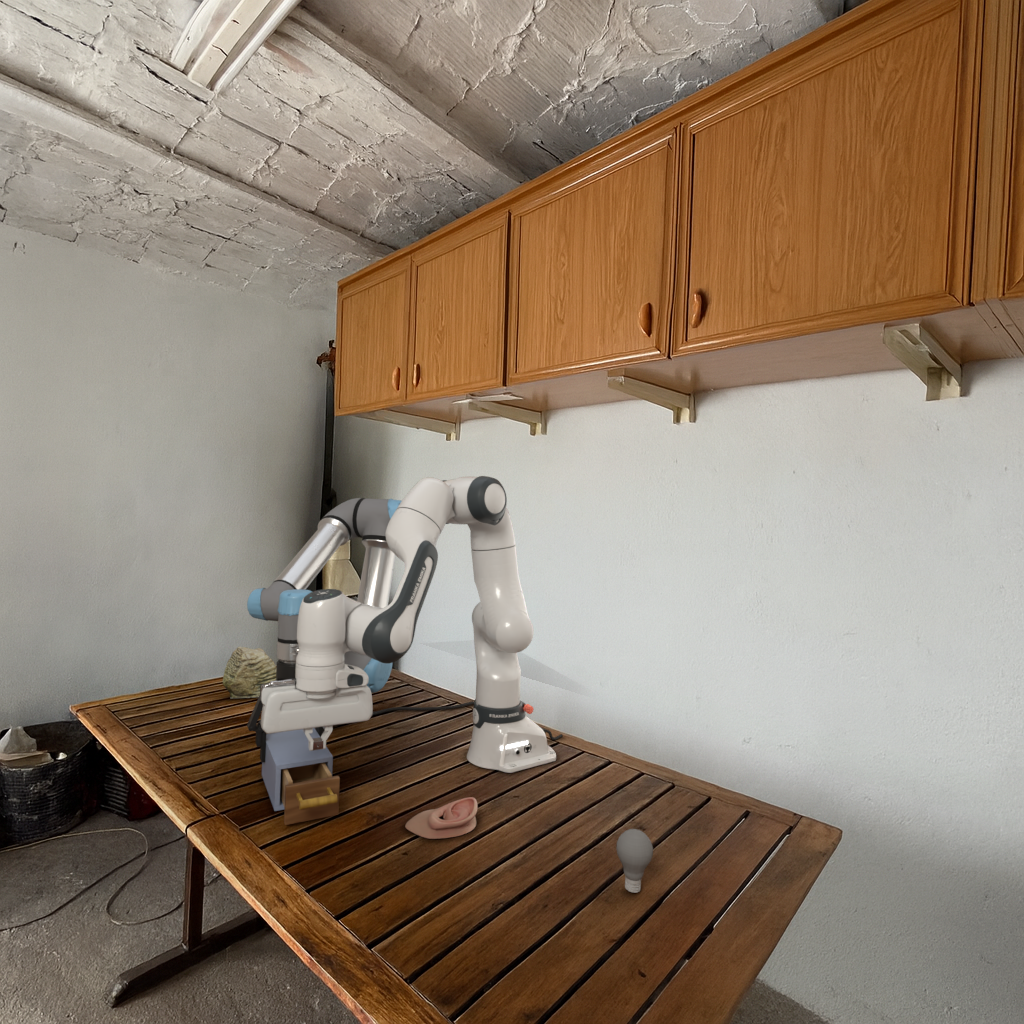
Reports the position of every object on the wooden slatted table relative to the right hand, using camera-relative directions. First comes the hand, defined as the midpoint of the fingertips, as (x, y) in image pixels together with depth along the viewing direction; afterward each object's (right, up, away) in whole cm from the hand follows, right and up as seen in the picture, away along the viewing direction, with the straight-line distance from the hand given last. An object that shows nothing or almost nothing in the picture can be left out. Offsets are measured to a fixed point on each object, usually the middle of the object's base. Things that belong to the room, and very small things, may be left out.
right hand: (317, 748), depth 120 cm
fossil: (-44, -12, +78) cm, 90 cm away
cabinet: (-10, -15, +17) cm, 25 cm away
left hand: (-13, -10, +23) cm, 28 cm away
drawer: (-4, -14, +7) cm, 17 cm away
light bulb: (+57, -19, -14) cm, 62 cm away
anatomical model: (+23, -17, +4) cm, 29 cm away
